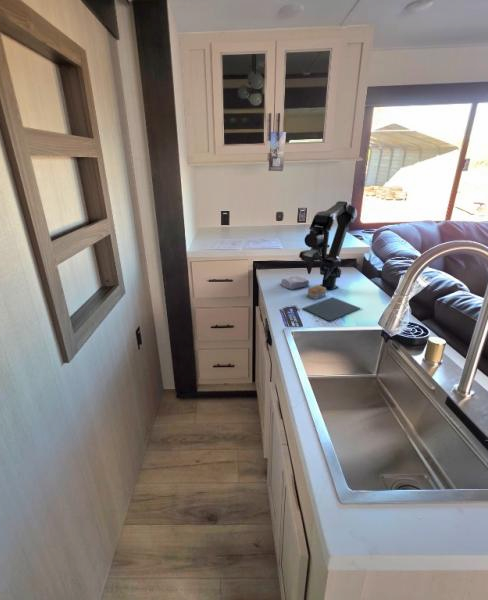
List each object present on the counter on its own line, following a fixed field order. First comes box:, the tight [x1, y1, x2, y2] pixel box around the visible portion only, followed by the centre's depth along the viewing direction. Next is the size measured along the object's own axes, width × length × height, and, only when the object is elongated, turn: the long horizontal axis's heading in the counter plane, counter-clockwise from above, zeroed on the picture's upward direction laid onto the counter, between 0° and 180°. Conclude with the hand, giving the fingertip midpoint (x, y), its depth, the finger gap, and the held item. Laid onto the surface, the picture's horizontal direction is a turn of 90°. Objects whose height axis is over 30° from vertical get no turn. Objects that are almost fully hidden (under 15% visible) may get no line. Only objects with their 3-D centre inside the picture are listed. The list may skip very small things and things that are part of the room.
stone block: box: [280, 275, 310, 291], centre depth 158 cm, size 12×5×10 cm
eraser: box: [307, 284, 327, 300], centre depth 145 cm, size 7×4×4 cm, turn 125°
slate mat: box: [302, 297, 361, 322], centre depth 133 cm, size 20×14×1 cm
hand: (317, 276), depth 142 cm, fingers open, 9 cm apart
